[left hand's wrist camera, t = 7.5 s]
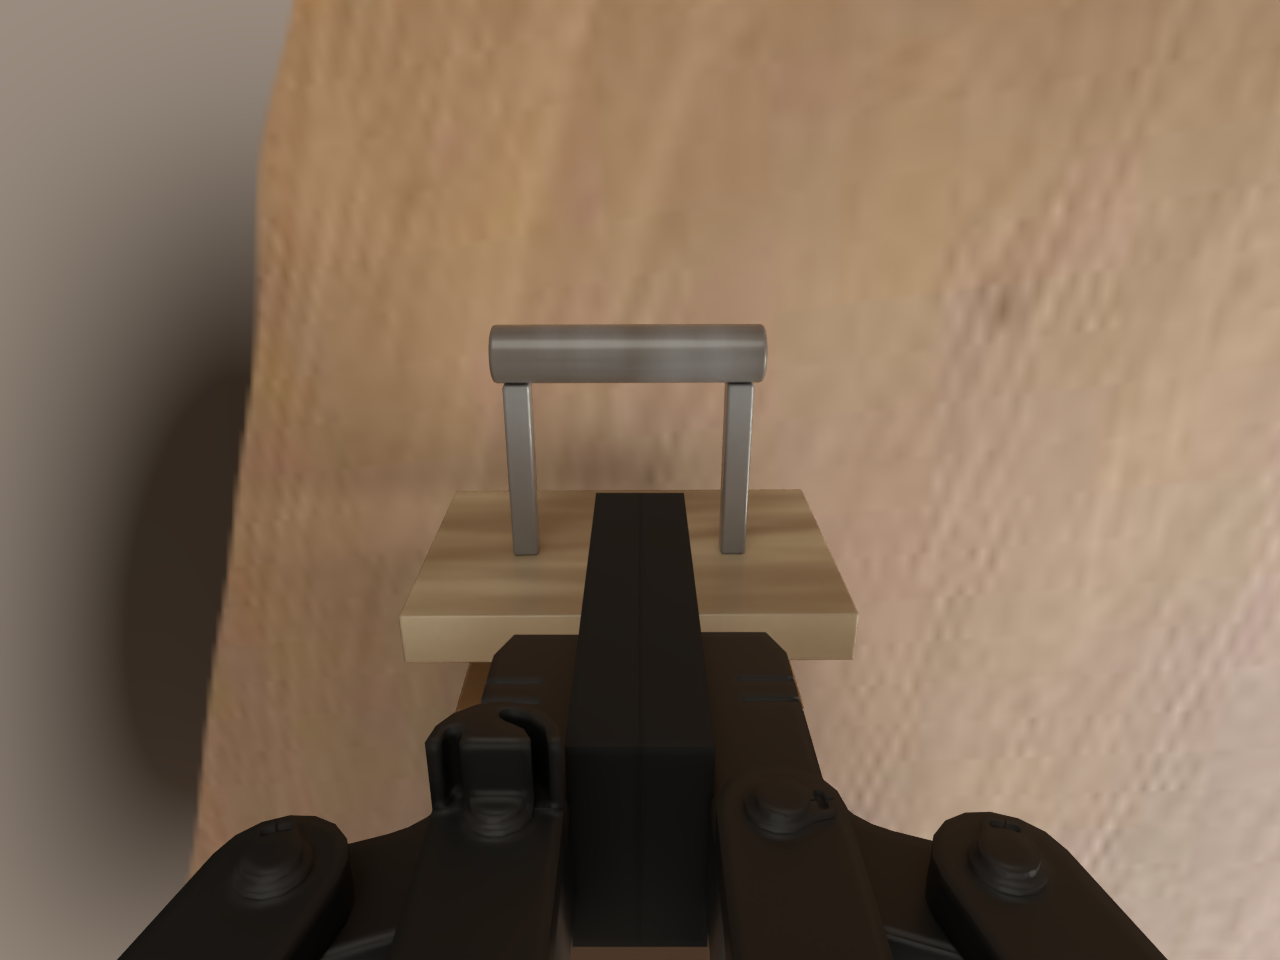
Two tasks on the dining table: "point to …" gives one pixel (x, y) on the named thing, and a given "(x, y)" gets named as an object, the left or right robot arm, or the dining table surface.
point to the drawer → (562, 520)
